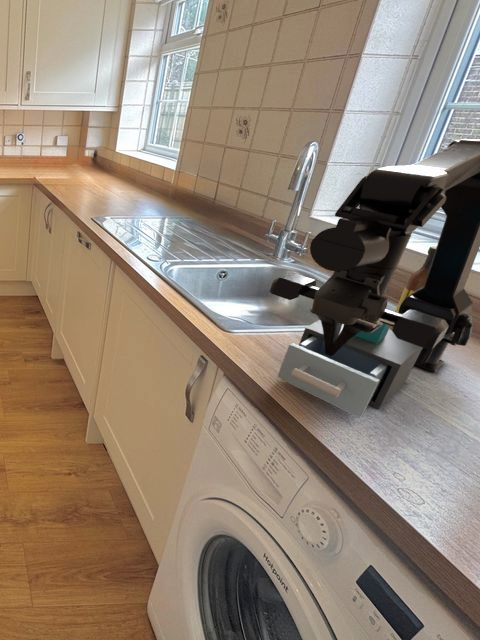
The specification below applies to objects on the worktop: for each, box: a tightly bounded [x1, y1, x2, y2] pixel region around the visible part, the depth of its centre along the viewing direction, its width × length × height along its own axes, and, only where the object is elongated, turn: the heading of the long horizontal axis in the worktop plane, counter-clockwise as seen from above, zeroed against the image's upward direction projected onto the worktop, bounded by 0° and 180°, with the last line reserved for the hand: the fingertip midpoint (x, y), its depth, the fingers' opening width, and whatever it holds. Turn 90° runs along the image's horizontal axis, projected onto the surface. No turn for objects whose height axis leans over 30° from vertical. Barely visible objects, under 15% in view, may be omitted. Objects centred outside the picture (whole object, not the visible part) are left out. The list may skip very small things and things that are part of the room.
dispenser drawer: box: [276, 335, 392, 419], centre depth 68 cm, size 17×11×7 cm
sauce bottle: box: [389, 245, 437, 330], centre depth 86 cm, size 7×6×20 cm
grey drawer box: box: [298, 319, 423, 410], centre depth 73 cm, size 14×13×9 cm
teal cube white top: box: [355, 324, 390, 344], centre depth 71 cm, size 4×4×4 cm
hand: (329, 354), depth 63 cm, fingers closed
